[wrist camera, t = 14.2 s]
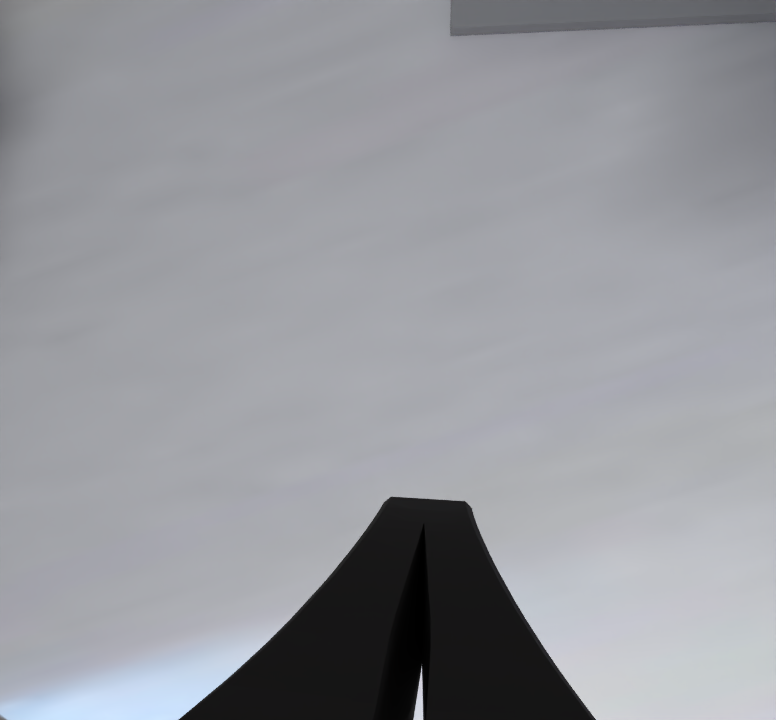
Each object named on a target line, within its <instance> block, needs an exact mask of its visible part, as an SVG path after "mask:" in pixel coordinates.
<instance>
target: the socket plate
mask: <svg viewBox="0 0 776 720" xmlns="http://www.w3.org/2000/svg"><path fill="white" fill-rule="evenodd" d="M754 22H776V0H451V20H450V33H451V36H461V35H483V34H506V33H529V32H551V31H574V30H596V29H619V28H641V27H664V26H686V25H709V24H732V23H754Z"/></svg>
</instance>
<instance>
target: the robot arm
mask: <svg viewBox="0 0 776 720" xmlns="http://www.w3.org/2000/svg"><path fill="white" fill-rule="evenodd" d="M421 667H422V680H423V720H596V719H595V718H594V717H593V715H592V714H591V713H590V711H589V710H588V709H587V707H586V706H585V705H584V703H583V702H582V701H581V699H580V698H579V697H578V695H577V694H576V693H575V691H574V690H573V689H572V687H571V686H570V685H569V683H568V682H567V680H566V679H565V678H564V676H563V675H562V673H561V672H560V671H559V669H558V668H557V666H556V665H555V663H554V662H553V660H552V659H551V657H550V656H549V654H548V653H547V652H546V650H545V649H544V647H543V645H542V644H541V642H540V641H539V639H538V638H537V636H536V635H535V633H534V631H533V630H532V628H531V627H530V625H529V624H528V622H527V620H526V619H525V617H524V616H523V614H522V612H521V611H520V609H519V607H518V606H517V604H516V602H515V601H514V599H513V597H512V595H511V593H510V591H509V590H508V588H507V586H506V584H505V582H504V581H503V579H502V577H501V575H500V573H499V572H498V570H497V568H496V566H495V564H494V562H493V560H492V558H491V556H490V554H489V552H488V550H487V547H486V545H485V543H484V541H483V539H482V536H481V534H480V532H479V529H478V527H477V524H476V521H475V518H474V515H473V512H472V508H471V507H470V506H469V505H468V504H467V503H466V502H465V501H450V500H434V499H418V498H402V497H390V498H389V499H388V500H387V501H385V502H384V504H383V505H382V507H381V509H380V510H379V512H378V513H377V515H376V516H375V518H374V519H373V521H372V522H371V524H370V525H369V526H368V528H367V529H366V531H365V532H364V533H363V535H362V536H361V537H360V539H359V540H358V541H357V543H356V544H355V545H354V547H353V548H352V549H351V550H350V552H349V553H348V554H347V555H346V557H345V558H344V559H343V560H342V562H341V563H340V564H339V565H338V566H337V568H336V569H335V570H334V571H333V573H332V574H331V575H330V576H329V577H328V579H327V580H326V581H325V582H324V583H323V584H322V585H321V587H320V588H319V589H318V590H317V591H316V592H315V593H314V594H313V595H312V596H311V597H310V599H309V600H308V601H307V602H306V603H305V604H304V605H303V606H302V607H301V608H300V609H299V611H298V612H297V613H296V614H295V615H294V616H293V617H292V618H291V619H290V620H289V621H288V622H287V623H286V624H285V625H284V626H283V627H282V628H281V629H280V630H279V631H278V632H277V633H276V634H275V635H274V636H273V637H272V638H271V639H270V640H269V641H268V642H267V643H266V644H265V645H264V646H263V647H262V648H261V649H260V650H259V651H258V652H257V653H256V654H254V655H253V656H252V657H251V658H250V659H249V660H248V661H247V662H246V663H245V664H243V665H242V666H241V667H240V668H239V669H238V670H237V671H236V672H235V673H234V674H232V675H231V676H230V677H229V678H228V679H227V680H226V681H224V682H223V683H222V684H221V685H220V686H218V687H217V688H216V689H215V690H214V691H212V692H211V693H210V694H209V695H208V696H206V697H205V698H204V699H203V700H202V701H200V702H199V703H198V704H197V705H196V706H195V707H193V708H192V709H191V710H190V711H189V712H187V713H186V714H185V715H184V716H183V717H181V718H180V719H179V720H413V718H414V711H415V705H416V699H417V692H418V686H419V680H420V673H421Z"/></svg>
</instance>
